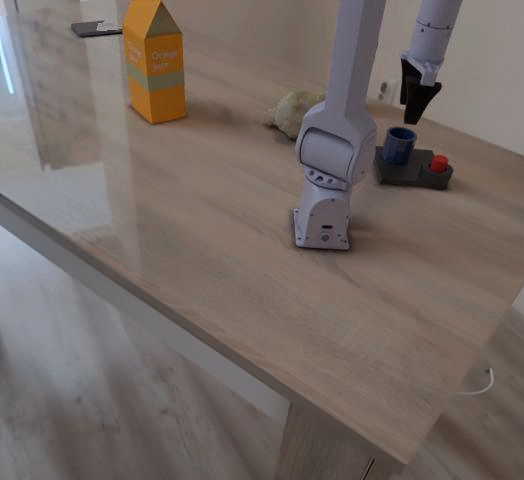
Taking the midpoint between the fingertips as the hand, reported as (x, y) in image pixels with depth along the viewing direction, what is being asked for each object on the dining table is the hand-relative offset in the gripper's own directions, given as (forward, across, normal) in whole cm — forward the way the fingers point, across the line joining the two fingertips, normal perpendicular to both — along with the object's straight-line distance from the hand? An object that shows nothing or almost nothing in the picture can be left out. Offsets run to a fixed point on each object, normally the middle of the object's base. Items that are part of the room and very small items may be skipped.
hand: (407, 113), depth 83 cm
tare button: (+7, +5, +7) cm, 11 cm away
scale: (+9, +2, +2) cm, 10 cm away
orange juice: (+9, -10, -47) cm, 49 cm away
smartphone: (+9, -51, -71) cm, 88 cm away
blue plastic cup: (+8, 0, 0) cm, 8 cm away
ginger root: (+9, -10, -17) cm, 21 cm away
